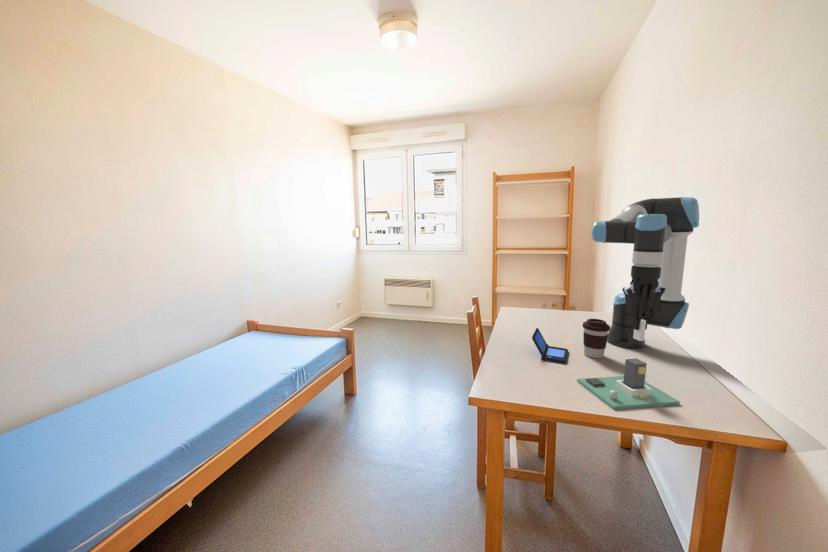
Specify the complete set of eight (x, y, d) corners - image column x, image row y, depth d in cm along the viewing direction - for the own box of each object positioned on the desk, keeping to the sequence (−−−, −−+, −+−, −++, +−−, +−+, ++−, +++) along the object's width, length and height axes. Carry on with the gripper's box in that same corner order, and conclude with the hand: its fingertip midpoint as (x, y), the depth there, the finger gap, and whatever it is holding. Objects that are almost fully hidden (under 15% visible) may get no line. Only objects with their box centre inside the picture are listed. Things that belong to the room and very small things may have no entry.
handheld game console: (565, 365, 132) (567, 342, 131) (530, 358, 138) (531, 337, 137) (568, 351, 146) (569, 331, 144) (535, 346, 152) (536, 326, 151)
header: (634, 384, 113) (635, 379, 113) (653, 396, 106) (653, 390, 106) (615, 386, 112) (615, 380, 112) (632, 397, 105) (633, 391, 105)
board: (634, 377, 121) (635, 368, 120) (679, 404, 103) (680, 394, 102) (576, 381, 118) (577, 372, 117) (613, 409, 100) (614, 398, 100)
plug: (633, 387, 112) (636, 358, 110) (645, 394, 107) (648, 364, 105) (622, 387, 111) (625, 359, 110) (634, 395, 106) (637, 365, 105)
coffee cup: (606, 353, 143) (609, 319, 141) (608, 361, 134) (611, 325, 132) (580, 349, 147) (582, 316, 145) (580, 357, 139) (583, 322, 136)
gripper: (655, 263, 108) (647, 334, 111) (617, 264, 106) (611, 336, 110) (676, 266, 100) (667, 342, 104) (636, 267, 99) (628, 344, 102)
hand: (638, 339), depth 107 cm, fingers closed
